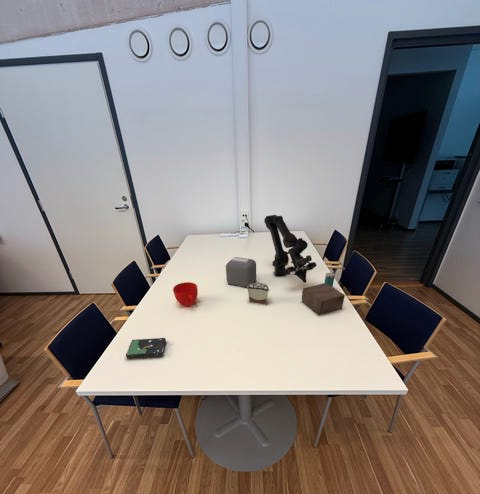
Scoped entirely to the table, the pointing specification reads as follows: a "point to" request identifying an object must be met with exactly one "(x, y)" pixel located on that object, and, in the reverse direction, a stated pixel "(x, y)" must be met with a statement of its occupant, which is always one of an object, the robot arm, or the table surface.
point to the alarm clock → (241, 271)
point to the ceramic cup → (186, 293)
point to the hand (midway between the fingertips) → (305, 282)
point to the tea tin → (329, 279)
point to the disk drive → (146, 348)
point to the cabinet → (322, 298)
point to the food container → (258, 293)
